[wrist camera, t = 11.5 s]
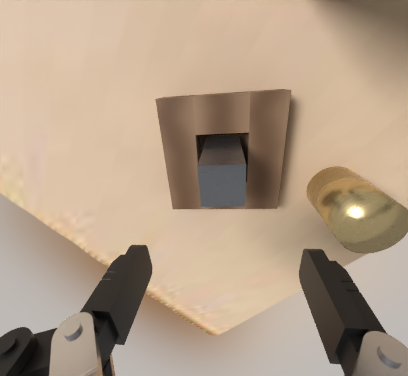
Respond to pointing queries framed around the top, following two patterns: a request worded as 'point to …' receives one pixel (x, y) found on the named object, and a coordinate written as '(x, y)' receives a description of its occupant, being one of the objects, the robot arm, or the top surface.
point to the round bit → (357, 210)
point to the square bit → (222, 172)
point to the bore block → (222, 124)
